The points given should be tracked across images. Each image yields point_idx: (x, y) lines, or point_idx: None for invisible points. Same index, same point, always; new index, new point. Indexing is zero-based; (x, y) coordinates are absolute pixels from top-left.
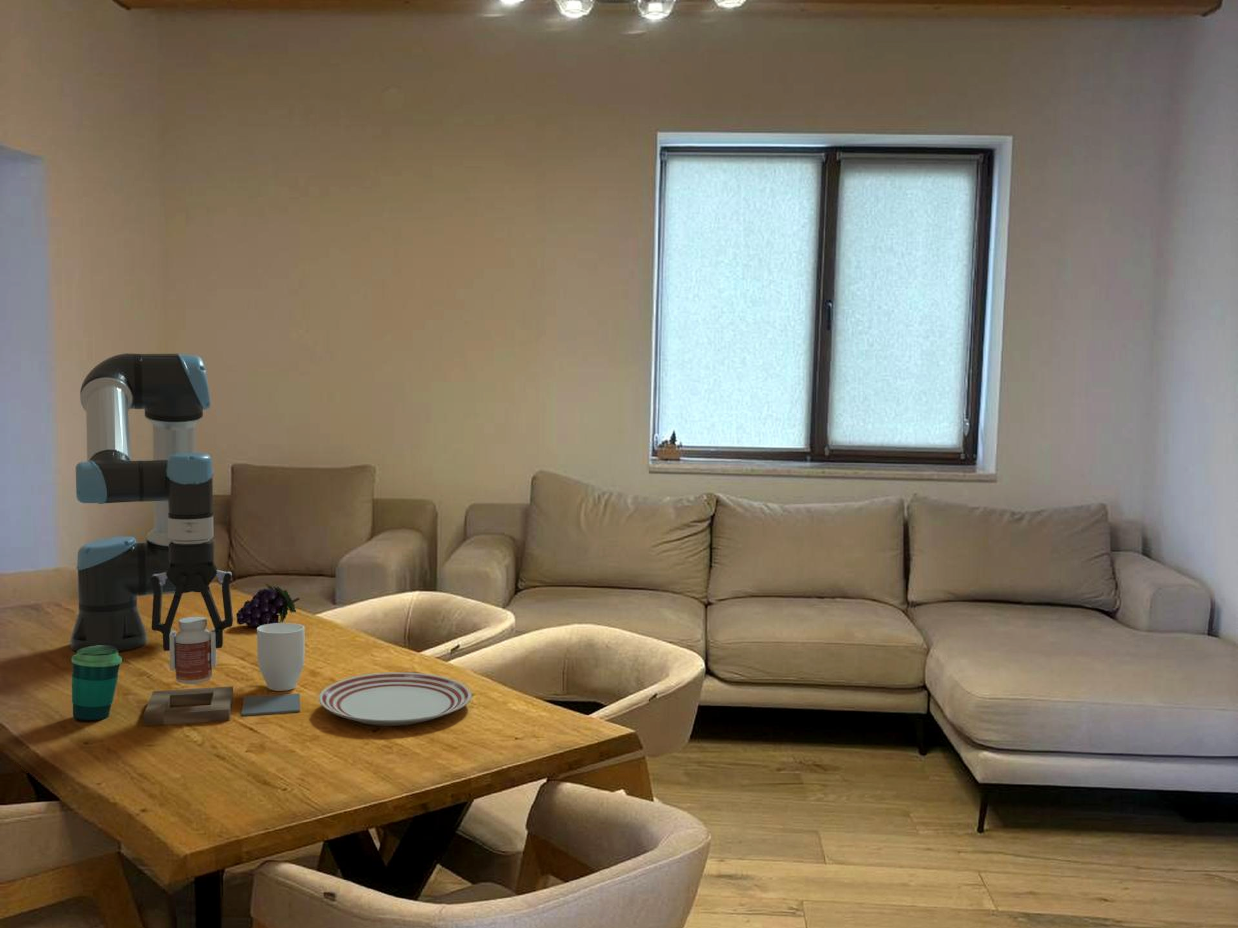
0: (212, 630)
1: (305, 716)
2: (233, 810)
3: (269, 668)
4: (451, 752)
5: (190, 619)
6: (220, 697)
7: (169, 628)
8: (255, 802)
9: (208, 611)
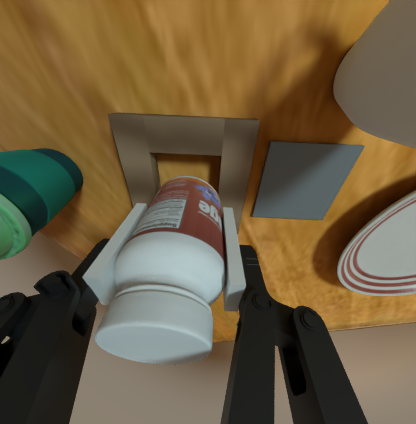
0: (230, 299)
1: (318, 232)
2: (226, 329)
3: (357, 126)
4: (370, 310)
5: (143, 345)
6: (231, 185)
7: (90, 325)
8: (237, 326)
9: (221, 421)
